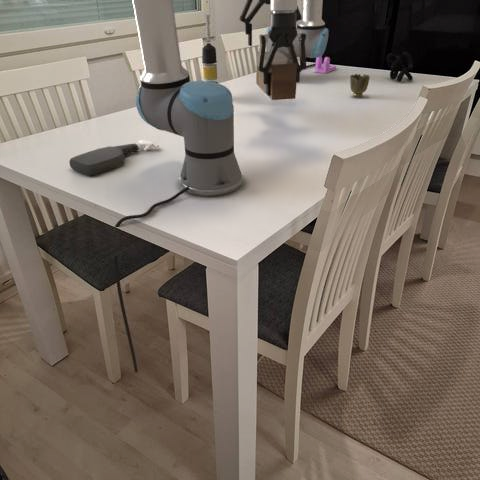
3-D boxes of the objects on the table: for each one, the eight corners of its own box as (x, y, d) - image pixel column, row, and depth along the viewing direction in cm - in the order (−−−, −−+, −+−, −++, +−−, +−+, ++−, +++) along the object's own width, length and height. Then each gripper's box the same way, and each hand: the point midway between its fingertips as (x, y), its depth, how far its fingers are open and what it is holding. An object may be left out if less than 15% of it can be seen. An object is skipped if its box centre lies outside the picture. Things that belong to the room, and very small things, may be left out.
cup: (345, 97, 176) (348, 76, 172) (351, 93, 181) (353, 73, 177) (364, 99, 173) (367, 78, 169) (369, 95, 178) (372, 74, 174)
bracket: (325, 73, 215) (326, 57, 211) (315, 71, 218) (316, 56, 214) (337, 68, 224) (338, 53, 220) (327, 67, 227) (328, 52, 223)
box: (295, 98, 137) (297, 63, 131) (271, 100, 135) (272, 64, 130) (277, 82, 155) (277, 51, 150) (256, 83, 154) (256, 52, 149)
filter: (220, 99, 177) (217, 15, 161) (206, 100, 176) (202, 16, 160) (215, 96, 182) (212, 14, 166) (202, 97, 180) (197, 14, 164)
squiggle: (400, 92, 202) (376, 71, 205) (417, 76, 202) (392, 56, 205) (405, 81, 191) (380, 59, 194) (423, 64, 191) (397, 42, 194)
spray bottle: (67, 168, 120) (139, 144, 136) (91, 178, 114) (163, 151, 130) (65, 157, 118) (137, 134, 134) (89, 167, 112) (162, 142, 128)
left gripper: (313, 9, 131) (308, 89, 143) (245, 11, 128) (246, 93, 140) (322, 11, 125) (316, 95, 137) (251, 14, 122) (251, 99, 134)
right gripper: (307, -31, 142) (302, 42, 153) (229, -30, 139) (231, 44, 149) (314, -31, 136) (309, 44, 147) (233, -30, 132) (234, 47, 143)
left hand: (280, 93), depth 138 cm, fingers closed on box, 7 cm apart
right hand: (270, 44), depth 148 cm, fingers open, 13 cm apart
